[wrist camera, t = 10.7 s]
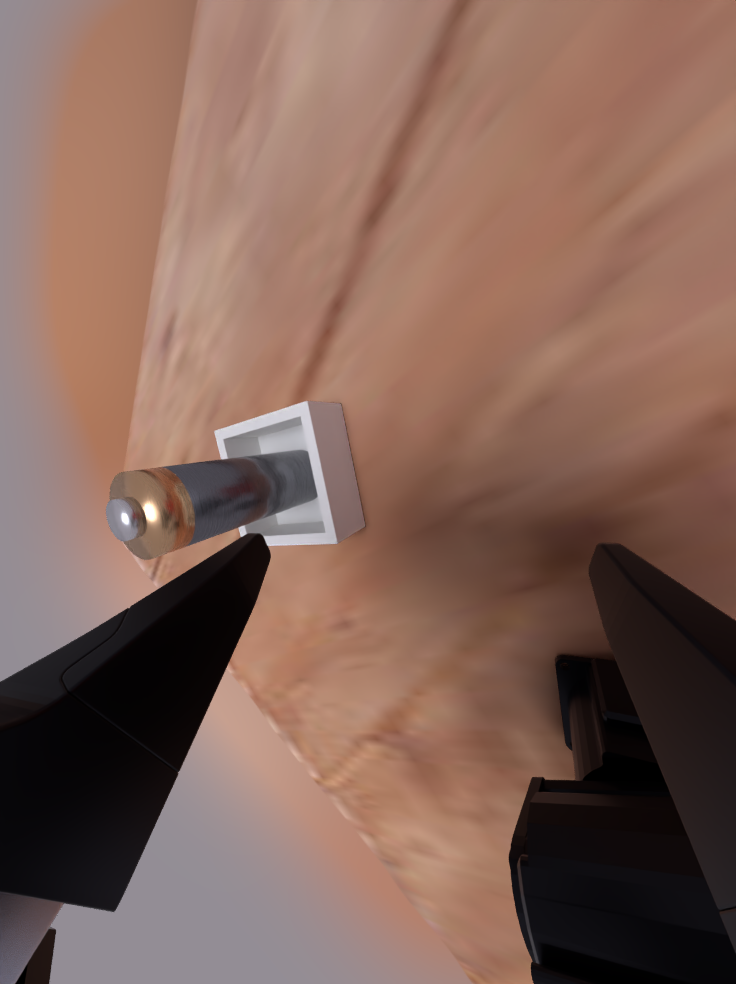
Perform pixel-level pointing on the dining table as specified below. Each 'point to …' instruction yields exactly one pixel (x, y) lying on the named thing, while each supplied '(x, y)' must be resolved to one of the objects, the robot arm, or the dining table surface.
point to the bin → (331, 467)
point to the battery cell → (204, 499)
